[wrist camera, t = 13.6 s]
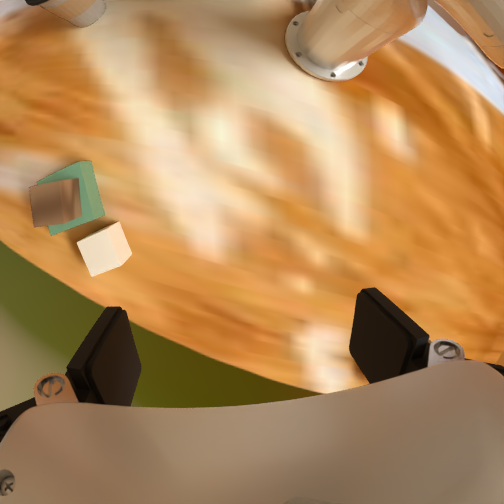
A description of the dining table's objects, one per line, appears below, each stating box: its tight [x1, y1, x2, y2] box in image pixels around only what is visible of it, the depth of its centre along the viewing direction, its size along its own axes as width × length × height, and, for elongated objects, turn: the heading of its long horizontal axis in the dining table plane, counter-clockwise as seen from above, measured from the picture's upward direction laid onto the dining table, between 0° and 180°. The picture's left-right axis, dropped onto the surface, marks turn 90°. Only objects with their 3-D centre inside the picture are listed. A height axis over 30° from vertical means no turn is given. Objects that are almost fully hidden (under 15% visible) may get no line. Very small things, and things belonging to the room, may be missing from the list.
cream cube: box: [77, 222, 132, 277], centre depth 35 cm, size 5×5×5 cm
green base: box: [37, 161, 105, 236], centre depth 33 cm, size 8×8×4 cm
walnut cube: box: [30, 178, 82, 227], centre depth 28 cm, size 5×5×5 cm
